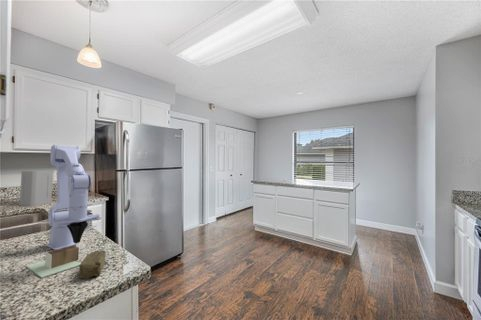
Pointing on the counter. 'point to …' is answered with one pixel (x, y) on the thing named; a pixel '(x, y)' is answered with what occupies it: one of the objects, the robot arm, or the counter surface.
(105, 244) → the counter surface
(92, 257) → the stone block
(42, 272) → the sage mat
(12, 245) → the counter surface
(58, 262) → the walnut block
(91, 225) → the french press
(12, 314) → the counter surface
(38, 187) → the tall grey box
